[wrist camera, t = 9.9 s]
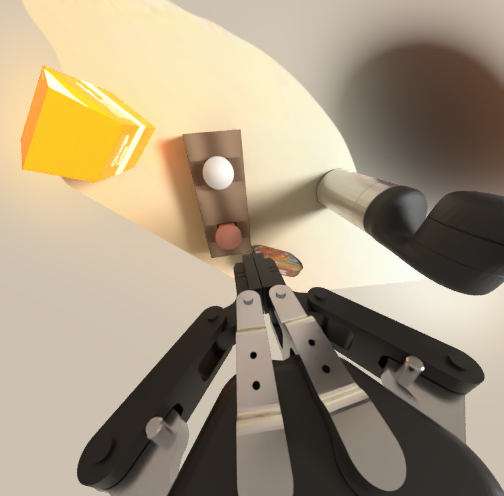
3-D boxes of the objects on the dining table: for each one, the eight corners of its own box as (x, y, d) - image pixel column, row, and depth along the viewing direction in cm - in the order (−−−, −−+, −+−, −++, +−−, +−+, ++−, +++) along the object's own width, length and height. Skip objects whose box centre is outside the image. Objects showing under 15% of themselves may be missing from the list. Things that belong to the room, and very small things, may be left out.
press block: (237, 130, 36) (240, 129, 32) (248, 242, 50) (251, 251, 46) (186, 134, 35) (182, 134, 31) (211, 247, 49) (211, 258, 45)
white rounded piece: (229, 152, 38) (231, 155, 32) (232, 180, 40) (235, 187, 35) (201, 154, 37) (199, 158, 31) (207, 183, 40) (206, 191, 34)
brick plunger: (237, 213, 44) (240, 224, 38) (239, 234, 47) (242, 247, 41) (213, 216, 43) (213, 228, 38) (217, 237, 46) (218, 251, 41)
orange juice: (156, 128, 34) (99, 122, 17) (135, 167, 37) (68, 195, 20) (110, 91, 31) (-17, 39, 14) (90, 137, 33) (-36, 141, 17)
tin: (296, 254, 56) (308, 272, 49) (292, 262, 57) (302, 280, 50) (251, 242, 51) (257, 259, 44) (247, 251, 52) (252, 269, 45)
